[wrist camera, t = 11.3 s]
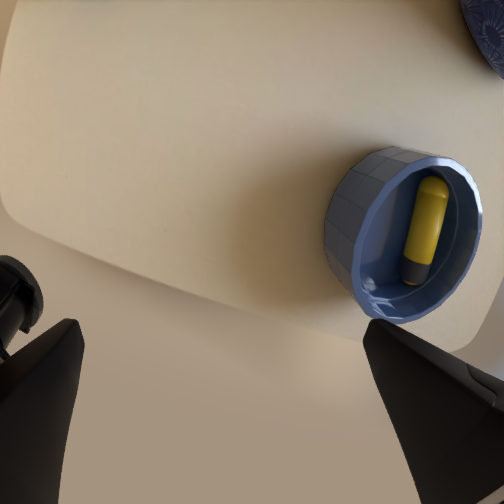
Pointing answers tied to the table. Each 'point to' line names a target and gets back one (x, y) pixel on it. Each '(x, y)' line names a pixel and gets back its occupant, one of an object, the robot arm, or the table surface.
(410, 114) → the table surface
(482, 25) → the planter
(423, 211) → the marker
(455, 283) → the bowl
